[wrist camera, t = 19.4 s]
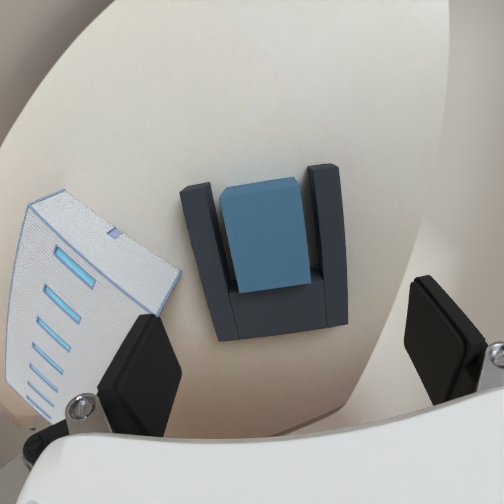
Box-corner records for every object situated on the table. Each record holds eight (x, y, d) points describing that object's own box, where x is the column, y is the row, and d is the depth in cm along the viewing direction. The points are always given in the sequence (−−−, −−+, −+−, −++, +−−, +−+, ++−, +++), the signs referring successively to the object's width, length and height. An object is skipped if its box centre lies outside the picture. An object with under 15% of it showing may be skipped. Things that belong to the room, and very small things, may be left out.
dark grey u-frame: (331, 163, 23) (338, 166, 21) (342, 309, 28) (348, 324, 26) (186, 186, 24) (179, 192, 22) (221, 326, 30) (218, 341, 27)
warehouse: (64, 189, 25) (13, 210, 18) (182, 271, 27) (157, 317, 20) (23, 358, 34) (-1, 388, 27) (97, 410, 37) (80, 446, 30)
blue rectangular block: (293, 176, 24) (299, 184, 20) (304, 262, 27) (311, 283, 23) (225, 187, 24) (219, 197, 21) (242, 271, 27) (239, 293, 24)
